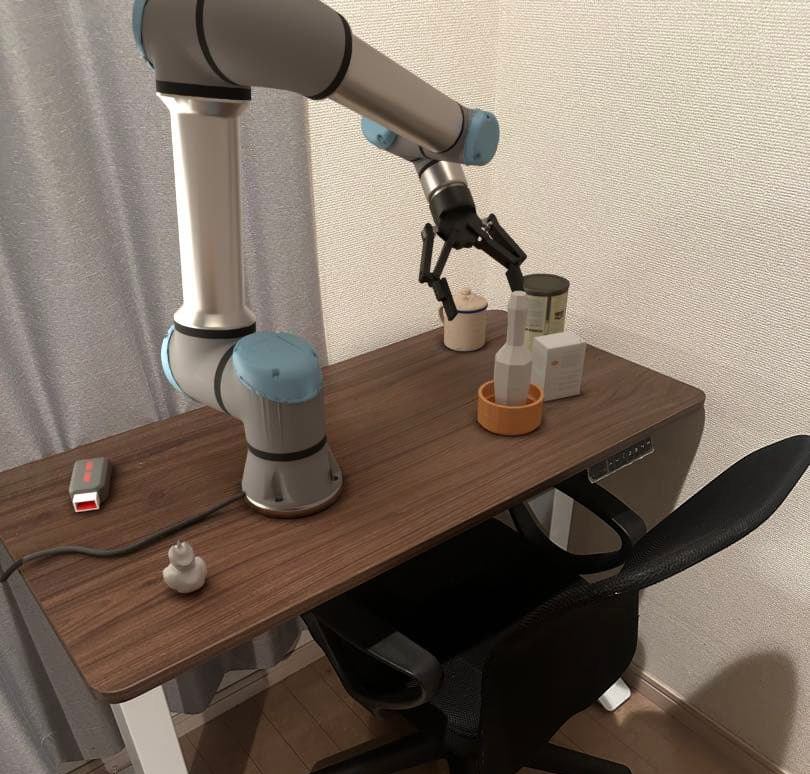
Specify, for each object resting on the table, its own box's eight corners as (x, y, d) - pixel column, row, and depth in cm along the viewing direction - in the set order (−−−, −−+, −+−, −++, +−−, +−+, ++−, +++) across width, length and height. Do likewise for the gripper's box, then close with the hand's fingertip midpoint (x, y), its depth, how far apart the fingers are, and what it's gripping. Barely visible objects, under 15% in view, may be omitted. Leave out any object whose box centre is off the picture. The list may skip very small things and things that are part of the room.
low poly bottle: (496, 406, 135) (504, 284, 121) (531, 412, 133) (543, 289, 120) (486, 423, 130) (494, 297, 117) (522, 429, 128) (534, 302, 115)
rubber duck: (176, 606, 95) (163, 557, 90) (159, 578, 100) (146, 529, 95) (216, 590, 97) (206, 542, 93) (198, 563, 102) (187, 515, 97)
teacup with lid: (494, 343, 158) (498, 288, 151) (465, 356, 154) (468, 300, 146) (453, 328, 165) (454, 274, 158) (424, 340, 160) (424, 285, 153)
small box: (564, 382, 144) (571, 329, 137) (580, 395, 139) (588, 341, 133) (527, 389, 141) (532, 336, 135) (542, 402, 137) (548, 348, 131)
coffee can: (519, 336, 161) (525, 270, 152) (567, 344, 158) (575, 276, 149) (504, 355, 154) (509, 286, 145) (554, 363, 150) (562, 293, 142)
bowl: (506, 443, 126) (509, 414, 122) (463, 418, 133) (465, 389, 130) (554, 423, 131) (558, 395, 128) (510, 400, 138) (513, 372, 135)
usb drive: (112, 467, 122) (107, 452, 120) (106, 509, 112) (101, 494, 111) (78, 471, 121) (73, 457, 119) (69, 514, 111) (64, 499, 110)
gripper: (501, 200, 137) (539, 307, 135) (376, 218, 129) (416, 333, 127) (519, 174, 130) (560, 287, 128) (388, 191, 122) (430, 313, 120)
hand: (488, 310), depth 128 cm, fingers open, 13 cm apart
